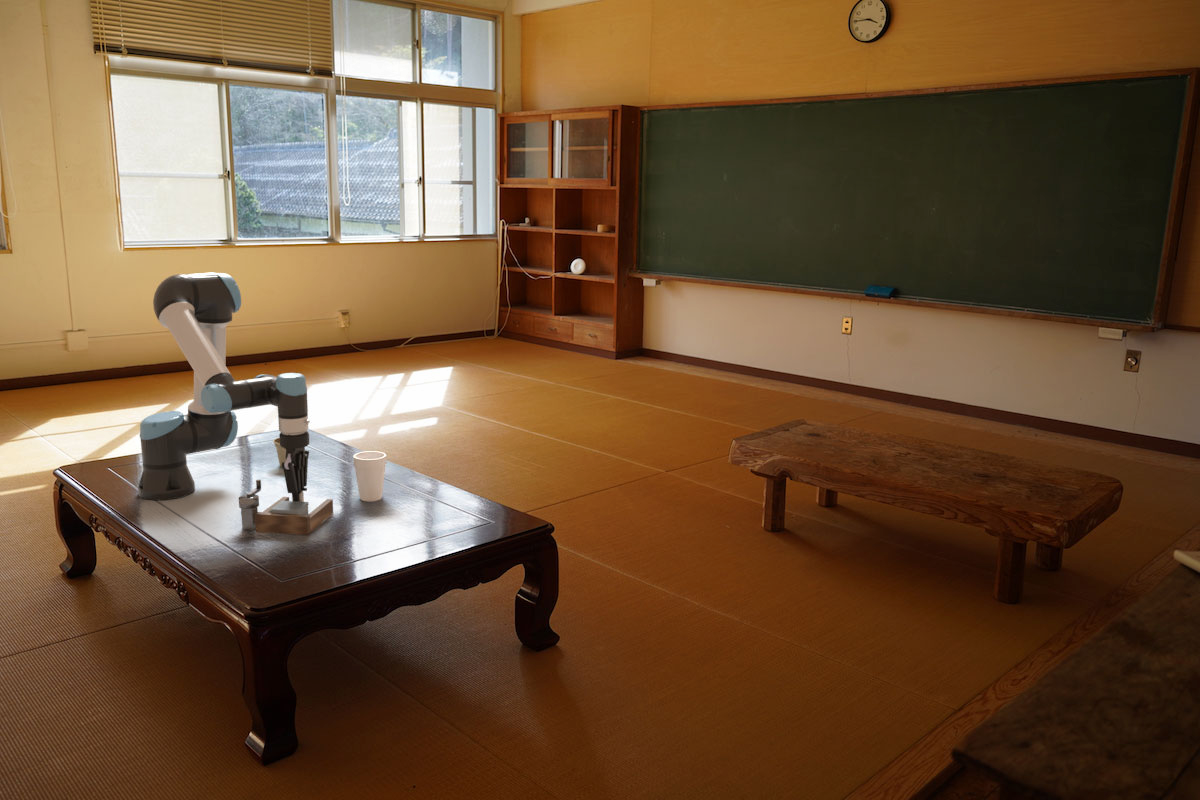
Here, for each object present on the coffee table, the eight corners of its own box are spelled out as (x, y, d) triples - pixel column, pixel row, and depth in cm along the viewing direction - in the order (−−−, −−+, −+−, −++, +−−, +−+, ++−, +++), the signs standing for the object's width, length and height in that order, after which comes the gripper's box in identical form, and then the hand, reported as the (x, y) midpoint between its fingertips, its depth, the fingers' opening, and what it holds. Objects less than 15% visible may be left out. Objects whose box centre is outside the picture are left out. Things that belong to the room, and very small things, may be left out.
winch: (236, 530, 243) (234, 489, 240) (252, 518, 252) (250, 479, 249) (255, 531, 242) (252, 490, 240) (270, 519, 251) (268, 480, 249)
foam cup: (393, 496, 273) (392, 453, 271) (374, 505, 265) (372, 461, 262) (368, 491, 277) (367, 449, 275) (347, 499, 269) (346, 457, 266)
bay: (255, 532, 242) (254, 513, 241) (284, 510, 259) (283, 493, 258) (307, 535, 241) (307, 516, 239) (333, 512, 258) (332, 495, 257)
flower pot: (299, 469, 297) (298, 443, 295) (270, 469, 297) (268, 443, 295) (308, 461, 306) (307, 436, 304) (280, 461, 306) (279, 435, 304)
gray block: (271, 530, 243) (270, 509, 242) (283, 521, 250) (282, 500, 249) (298, 532, 242) (297, 510, 241) (309, 523, 249) (308, 502, 248)
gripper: (298, 438, 239) (302, 523, 245) (316, 425, 252) (321, 507, 257) (270, 437, 240) (275, 522, 245) (290, 424, 252) (295, 506, 258)
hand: (298, 514), depth 251 cm, fingers closed
